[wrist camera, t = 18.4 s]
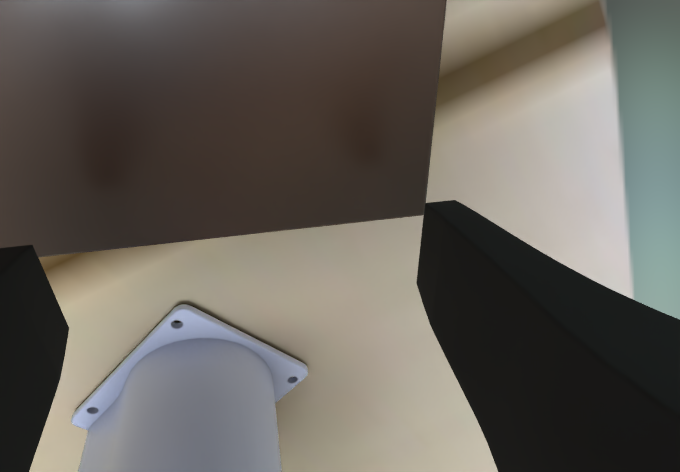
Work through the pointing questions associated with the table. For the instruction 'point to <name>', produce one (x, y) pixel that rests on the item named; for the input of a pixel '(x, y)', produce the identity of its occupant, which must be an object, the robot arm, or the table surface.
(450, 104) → the table surface
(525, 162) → the table surface
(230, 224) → the cabinet
